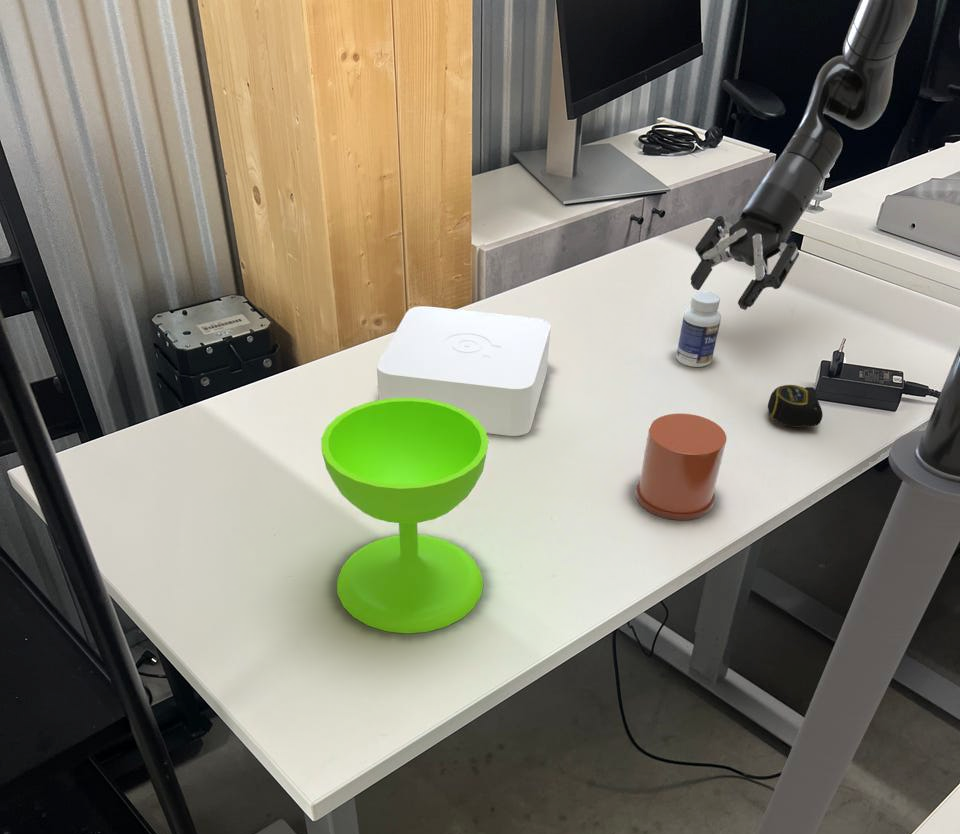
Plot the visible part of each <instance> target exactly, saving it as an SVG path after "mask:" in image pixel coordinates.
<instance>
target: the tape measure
mask: <svg viewBox="0 0 960 834" xmlns="http://www.w3.org/2000/svg"><path fill="white" fill-rule="evenodd" d="M767 411H768V414H769V415H770V417H771V418H772V420H774V421H776V422H777V423H778V424H781V425H783V426H787V427H790V428H791V427H792V428H801V427H816V426H819V425H820V424H821V422H822V419H823V409H822V406H821V404H820V402H819V397H818V393H817V390H816V389H815V387H812V386H806V387H803V386H800V385H796V384H784V385H780V386H777V387H776V388H775V389H774V390H773V391H772V393H771V394H770V396H769V399H768V403H767Z"/></svg>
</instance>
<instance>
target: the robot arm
mask: <svg viewBox="0 0 960 834" xmlns="http://www.w3.org/2000/svg"><path fill="white" fill-rule="evenodd" d="M857 5H858V6H857V8H856V10H855V13H854V15H853V18H852V19H851V23H850V26H849V28H848V30H847V33H846V36H845V38H844V41H843V45H842V55H837V56H834V57H832V58H831V59H829V60H827V62H825V63H824V64H823V65H822V67H821V68H820V69H819V72H818V74H817V75H816V79H815V80H814V82H813V86H812V89H811V93H810V96H809V99H808V102H807V106H806V108H805V110H804V114H803V116H802V118H801V120H800V123H799V124H798V126H797V128H796V130H795V132H794V133H793V135H792V136H791V138H790V140H789V142H788V143H787V145H786V146H785V148H784V149H783V151H782V152H781V154H780V155H779V157H778V158H777V160H775V162H774V163H773V164H772V165H771V167H770V168H769V169H768V171H767V172H766V174H765V175H764V177H763V178H762V180H761V182H760V183H759V185H758V186H757V188H755V191H754V192H753V194H752V195H751V197H750V198H749V200H748V202H747V203H746V205H744V206H745V207H744V208H743V209H742V212H741V214H740V217H739V219H738V220H736V221H735V222H734V223H733V224H732V223H730V222H728V221H726V220H725V219H724V217H723V216H722V215H718V216H717V217H715V219H714V220H713V222H712V223H711V225H710V226H709V228H708V229H707V230H706V232H705V233H704V234H703V236H702V237H701V239H700V240H699V242H697V244H696V246H695V249H694V250H695V252H696V254H697V256H698V257H699V259H700V262H699V263H698V265H697V266H696V268H695V270H694V271H693V273H692V274H691V275H690V285H691V286H692V288H693V289H694V290H696V291H700V290H701V288H702V287H703V285H704V284H705V282H706V281H707V279H708V277H709V276H710V274H711V273H712V271H713V268H714V267H716V266H718V265H720V264H721V263H727V262H730V261H731V260H732V259H733V260H734V261H736V262H738V263H744V264H745V265H746V266H748V267H754V270H755V271H754V272H755V279H751V281H750V282H749V284H748V285H747V286H746V288H745V290H744V291H743V293H742V294H741V296H740V297H739V298H738V301H737V304H738V306H739V308H740V309H741V310H744V311H747V309H748V308H751V307H752V306H754V304H755V303H756V301H757V300H758V298H759V296H760V295H761V294H762V292H763V290H764V289H767V288H772V289H774V290H778V289H780V288H781V286H782V285H783V284H784V282H785V280H786V278H787V276H788V275H789V273H790V271H791V270H792V268H793V266H794V264H795V263H796V261H797V260H798V258H799V256H800V252H799V249H798V247H797V244H796V242H794V241H790V242H788V243H787V242H785V240H786V239H787V238H788V237H789V236H790V234H791V232H792V231H793V229H794V228H795V227H796V225H797V223H798V222H799V220H800V219H801V217H802V216H803V214H804V213H805V211H806V209H807V208H808V207H809V206H810V204H811V202H812V200H813V199H814V197H815V195H816V194H817V191H818V189H819V187H820V185H821V184H822V182H823V180H824V179H825V177H826V176H827V174H828V173H829V171H830V170H831V168H832V167H833V165H834V163H836V161H837V159H838V158H839V156H840V154H841V152H842V149H843V139H842V137H841V135H840V134H839V133H838V132H837V131H838V130H836V129H835V127H833V126H832V125H831V124H830V123H829V122H828V121H827V119H826V118H825V115H827V116H829V117H830V118H833V119H834V120H836V121H838V122H840V123H842V124H844V125H846V126H847V127H849V128H852V129H854V130H864V129H866V128H869V127H871V126H873V125H874V124H875V123H876V122H877V121H878V120H879V119H880V118H881V117H882V116H883V113H884V112H885V111H886V108H887V105H888V103H889V100H890V98H891V93H892V87H893V79H894V69H895V63H896V60H897V59H896V58H897V55H898V52H899V49H900V47H901V45H902V43H903V41H904V39H905V37H906V35H907V32H908V30H909V28H910V26H911V24H912V21H913V19H914V18H915V17H914V16H915V14H916V10H917V7H918V0H860V1H859V2H858V4H857ZM958 45H959V47H960V28H959V30H958ZM824 114H825V115H824ZM726 235H728V236H727V237H726ZM721 239H722V240H721ZM727 249H728V250H727ZM776 255H778V256H779V258H778V259H777V262H776V263H775V264H774V267H773V269H772V270H771V271H770V273H769V259H770V258H772V257H774V256H776ZM928 419H929V420H928V422H927V424H926V427H925V430H924V431H925V432H924V434H923V436H922V438H921V440H920V443H919V445H918V446H917V449H916V451H915V458H916V460H917V462H918V463H919V464H920V465H921V466H922V467H923V468H924V469H925V470H927V471H928V472H930V473H932V474H934V475H936V476H938V477H941V478H943V479H946V480H950V481H954V482H959V483H960V346H959V347H958V350H957V352H956V355H955V357H954V359H953V362H952V364H951V366H950V369H949V372H948V373H947V376H946V379H945V382H944V383H943V385H942V388H941V391H940V393H939V395H938V398H937V401H936V402H935V405H934V407H933V410H932V412H931V415H930V417H929V418H928Z"/></svg>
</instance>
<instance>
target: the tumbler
mask: <svg viewBox="0 0 960 834" xmlns="http://www.w3.org/2000/svg"><path fill="white" fill-rule="evenodd" d="M727 440H728V439H727V434H726V432H725V430H724V429H723V427H722V426H721V425H720V424H718V423H716V422H715V421H713V420H711V419H709V418H706V417H704V416H700V415H696V414H692V413H680V412H679V413H669V414H664V415H662V416H659V417H657V418H656V419H655V420H653V421H652V422H651V423H650V425H649V427H648V431H647V439H646V443H645V449H644V456H643V460H642V464H641V465H642V466H641V472H640V476H639V477H640V478H639V480H638V481H637V483H636V487H635V498H636V500H637V501H638V504H639V505H640V506H641V507H642V508H643V509H644V510H646V511H647V512H649V513H651V514H653V515H655V516H657V517H660V518H663V519H668V520H674V521H688V520H689V521H690V520H694V519H699V518H701V517H703V516H705V515H707V514H708V513H709V512H711V510H712V509H713V506H714V503H715V498H716V494H715V489H716V485H717V482H718V481H717V480H718V476H719V473H720V470H721V469H720V468H721V465H722V459H723V456H724V452H725V447H726V443H727Z"/></svg>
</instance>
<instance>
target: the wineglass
mask: <svg viewBox="0 0 960 834" xmlns="http://www.w3.org/2000/svg"><path fill="white" fill-rule="evenodd" d="M487 434H488V433H486V430H485V429H484V428H483V426H482V425H481V424H480V422H479V421H478V420H477V419H476V418H474V417H473V416H471V415H470V414H469V413H467V412H466V411H464V410H462V409H459V408H457V407H455V406H452V405H450V404H447V403H443V402H438V401H434V400H430V399H419V398H390V399H384V400H379V399H378V400H374V401H369V402H365V403H363V404H360V405H357V406H353V407H352V408H349V409H347V410H346V411H345V412H343V413H341V414H339V415H337V416H336V417H335V418H334V419H333V420H332V421H331V422H330V423H329V424H328V425H327V426H326V427H325V429H324V432H323V433H322V436H321V437H320V438H321V439H320V441H321V442H320V443H321V453H322V457H323V461H324V465H325V469H326V470H327V472H328V475H329V476H330V478H331V480H332V482H333V483H334V485H335V486H336V488H337V490H338V491H339V493H340V494H341V495H342V497H344V499H346V500H347V501H348V503H350V504H352V505H353V506H354V507H356V508H357V509H358V510H359V511H361V512H362V513H364V514H366V515H367V516H370V517H372V518H373V519H376V520H379V521H383V522H387V523H394V524H398V534H397V535H396V534H395V535H391V536H388V537H382V538H379V539H377V540H375V541H371V543H367V544H365V545H364V546H362V547H361V548H359V549H358V550H356V551H355V552H354V553H352V554H351V555H350V557H348V559H347V560H346V562H344V564H343V565H342V567H341V569H340V572H339V574H338V577H337V579H336V591H337V594H336V595H337V596H338V598H339V601H340V603H341V605H342V608H344V609H345V610H346V611H347V612H348V613H349V614H350V615H351V616H352V617H353V618H354V619H356V620H358V621H359V622H361V623H363V624H365V625H366V626H368V627H371V628H374V629H378V630H381V631H384V632H388V633H389V632H390V633H397V634H417V633H428V632H432V631H436V630H441V629H444V628H447V627H448V626H450V625H452V624H454V623H456V622H458V621H460V620H462V619H463V618H464V617H465V616H467V615H468V614H469V613H470V612H471V611H473V610H474V609H475V607H476V605H477V604H478V602H479V601H480V599H481V598H482V594H483V589H484V581H483V576H482V571H481V569H480V567H479V566H478V564H477V563H476V561H475V559H474V558H473V557H472V556H471V555H470V554H469V553H467V551H466V550H464V549H463V548H462V547H460V546H458V545H457V544H454V543H452V542H450V541H448V540H446V539H443V538H439V537H435V536H433V535H425V534H418V524H419V523H424V522H429V521H433V520H436V519H438V518H440V517H443V516H445V515H446V514H448V513H449V512H451V511H452V510H454V509H455V508H456V507H457V506H459V505H460V504H461V503H462V502H463V501H465V499H467V498H468V496H469V495H470V493H471V492H472V491H473V489H474V488H475V487H476V484H477V483H478V481H479V479H480V477H481V475H482V474H483V472H484V468H485V463H486V458H487V452H488V447H489V438H488V435H487Z"/></svg>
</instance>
